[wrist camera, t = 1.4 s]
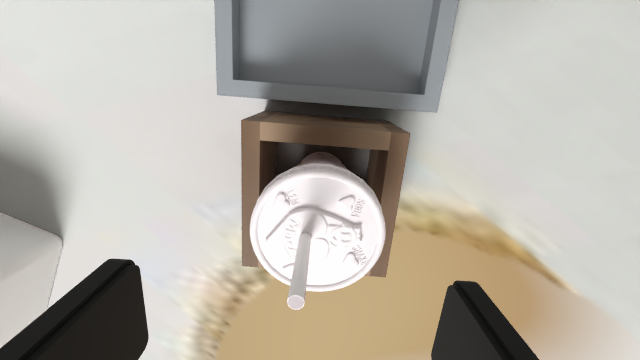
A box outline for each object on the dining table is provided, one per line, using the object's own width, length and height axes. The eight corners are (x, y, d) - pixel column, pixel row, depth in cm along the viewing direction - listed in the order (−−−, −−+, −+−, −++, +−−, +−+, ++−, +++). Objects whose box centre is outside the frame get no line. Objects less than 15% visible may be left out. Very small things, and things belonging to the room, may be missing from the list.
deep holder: (387, 120, 21) (410, 133, 16) (371, 231, 24) (385, 277, 18) (264, 111, 21) (241, 120, 16) (262, 223, 24) (242, 265, 18)
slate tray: (462, -98, 17) (483, -127, 15) (424, 109, 21) (437, 112, 19) (226, -118, 17) (209, -150, 15) (229, 94, 21) (217, 94, 19)
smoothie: (274, 137, 22) (193, 216, 9) (361, 130, 22) (415, 200, 8) (285, 215, 24) (232, 380, 10) (364, 210, 24) (413, 372, 10)
